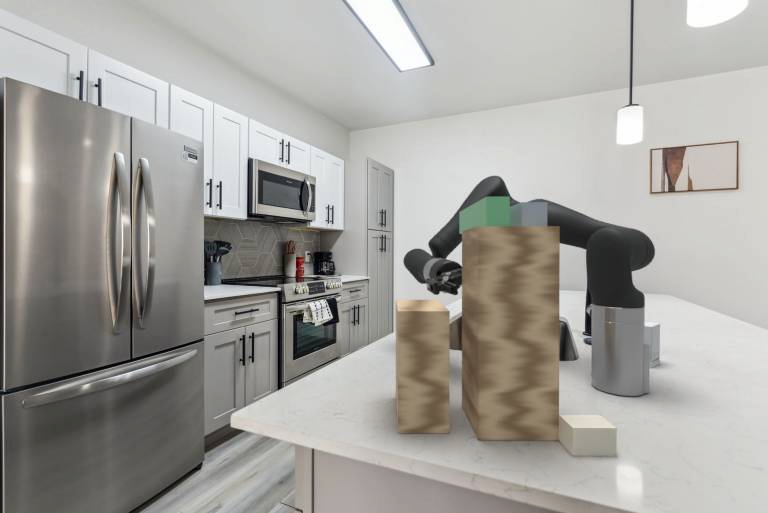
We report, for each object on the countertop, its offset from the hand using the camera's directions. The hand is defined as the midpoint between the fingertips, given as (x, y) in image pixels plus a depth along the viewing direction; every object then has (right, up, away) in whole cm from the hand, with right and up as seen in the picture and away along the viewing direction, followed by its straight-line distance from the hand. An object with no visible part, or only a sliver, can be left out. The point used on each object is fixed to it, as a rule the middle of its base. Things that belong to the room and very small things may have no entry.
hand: (474, 285), depth 73 cm
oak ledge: (-12, -22, -11) cm, 27 cm away
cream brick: (+11, -22, -22) cm, 33 cm away
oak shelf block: (+2, -22, -14) cm, 26 cm away
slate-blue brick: (+5, +10, -14) cm, 18 cm away
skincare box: (+46, -22, +20) cm, 55 cm away
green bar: (-1, +10, -9) cm, 14 cm away
